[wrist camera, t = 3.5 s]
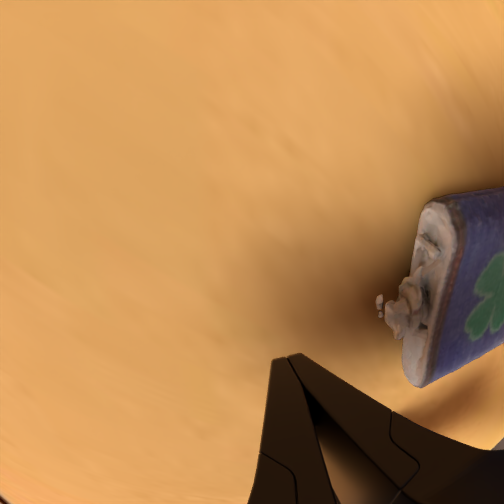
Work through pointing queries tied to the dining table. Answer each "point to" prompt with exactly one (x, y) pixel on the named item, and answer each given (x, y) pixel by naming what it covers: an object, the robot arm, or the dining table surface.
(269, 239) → the dining table surface
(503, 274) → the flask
